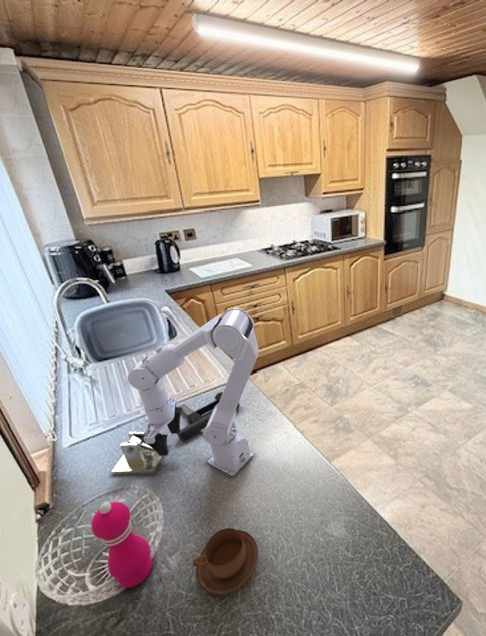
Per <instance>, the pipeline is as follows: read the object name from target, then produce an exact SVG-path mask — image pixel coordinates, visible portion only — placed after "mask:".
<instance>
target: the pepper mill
mask: <svg viewBox="0 0 486 636" xmlns="http://www.w3.org/2000/svg"><path fill="white" fill-rule="evenodd" d="M132 529H133V523H132V521H131V512H130V508H129V507H128V506H127V505H126V503H124V502H120V501H112V502H104V503H102V504H101V505H100V506H99V508H98V510H97V511H96V512H95V514H94V515H93V517H92V520H91V531H92V533H93V535H94V536H95V537H96V538H97V539H100V540H101V542H102V544H103V545H104V546H106V547H108V548H109V551H108V557H107V568H108V571H109V572H108V573H109V574H110V576H111V577H112V578H114V579H116V580H117V582H118V584H119V585H120V586H121V587H123V588H126V589H127V588H133V587H136V586H138V585H139V584H140V583H142V582H143V581H145V580H146V578H147V577H148V575H150V572H151V570H152V568H153V559H152V556H151V547H150V544H149V543H148V541H147V540H146V539H145V538H144V537H143V536H141V535H139V534H135V533H133V532H132Z"/></svg>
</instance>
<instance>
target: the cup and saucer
mask: <svg viewBox="0 0 486 636" xmlns="http://www.w3.org/2000/svg"><path fill="white" fill-rule="evenodd" d="M258 549H259V548H258V545H257V542H256V540H255V538H254V537H253V536H252V535H251V534H250V533H249V532H247V531H245V530H242V529H236V528H233V527H226V528H222V529H220V530H218V531H216V532H215V533H213V534H212V535H211V536H210V537H209V539H208V540H207V542H206V544H205V546H204V547H203V549H202V551H201V552H200V554H199V556H197V557H195V558H194V559H193V560H192V565H193V566H194V568H195V569H196V570H195V572H196V573H195V574H196V579H197V581H198V583H199V585H200V586H201V587H202V588H203V589H204V590H205V591H206V592H208V593H210V594H213V595H225V594H229V593H232V592H235V591H236V590H237V589H239V588H240V587H242V586H243V585H244V584H245V583H246V582H247V581H248V580H249V579H250V577H251V576H252V575H253V572H254V571H255V568H256V566H257V563H258V557H259V550H258Z"/></svg>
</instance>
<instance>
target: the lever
mask: <svg viewBox="0 0 486 636" xmlns="http://www.w3.org/2000/svg"><path fill="white" fill-rule="evenodd" d="M142 441H143V440H142V438H139V437H136V436H132V437H131V439H130V438H129V439H128V442H127V443H132V442H138V443H139V445H140V448H143V449H147V450H150V451H154V452H155V455H156V456H158V457H162V458H164V456H159V454H158V453H157V452H156V451H155V450H154V449H153V448H152V447H150V446H149V445H147V444H145V443H143V442H142Z"/></svg>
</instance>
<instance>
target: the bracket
mask: <svg viewBox="0 0 486 636" xmlns="http://www.w3.org/2000/svg"><path fill="white" fill-rule="evenodd" d="M145 434H146V430H139V431H137V430H135V431H129V432H128V438H129V440H130V439H131V437H132V436H136V437H139V438H142V439H143V437H144V436H145ZM142 442H143V441H142ZM119 447H120V449H121V451H122V456H121V457H120V458H119V460H118V461H117V463H116V465H115V466H114V467H113V469H112V470H111V473H112V475H136V474H137V475H143V474H145V475H146V474H147V475H148V474H155V472H156V471H157V468H158V467H159V465H160V463H161V461H162V460H163V457H158V456H156V455H155V452H154V451H150V450H147V449H143V448H140V445H139V443H138V442H132V443H128V442H121V443H120V445H119ZM167 447H168V448H169V445H168V444H167Z"/></svg>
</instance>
